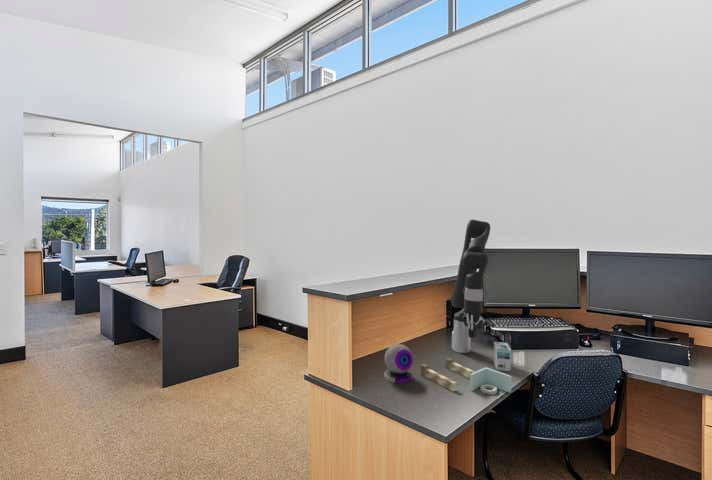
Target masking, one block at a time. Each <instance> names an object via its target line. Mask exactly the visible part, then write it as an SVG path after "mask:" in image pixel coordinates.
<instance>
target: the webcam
mask: <svg viewBox="0 0 712 480" xmlns="http://www.w3.org/2000/svg"><path fill="white" fill-rule="evenodd" d="M383 359H384V363H385V366H386V367H387V369H386V370H385V371H384V373H383V375H384V376H383V377H384V379H385V380H386V381H388V382H390V383H393V384H394V383H407V382H410V380H414V377H413V376H414V375H413V373H412V371H410V370H411V368H412V367H413V363H414V355H413V353H412V351H411V349H410V348H409V347H408V346H406V345H404V344H402V343H401V344H399V343H397V344H392V345H391V346H390V347H388V349H387V350H386V351H385V354H384V358H383Z"/></svg>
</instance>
